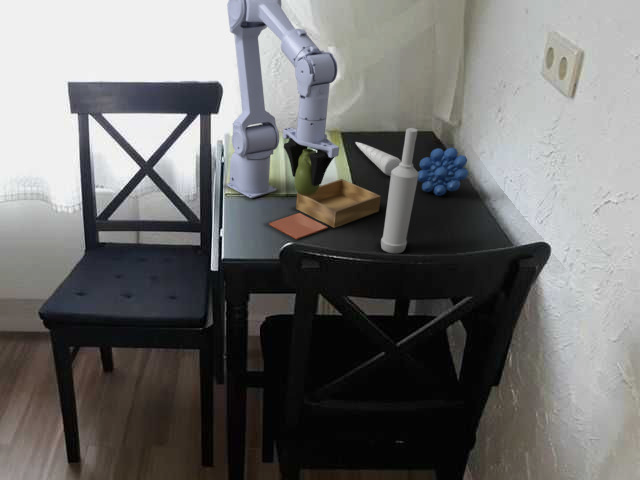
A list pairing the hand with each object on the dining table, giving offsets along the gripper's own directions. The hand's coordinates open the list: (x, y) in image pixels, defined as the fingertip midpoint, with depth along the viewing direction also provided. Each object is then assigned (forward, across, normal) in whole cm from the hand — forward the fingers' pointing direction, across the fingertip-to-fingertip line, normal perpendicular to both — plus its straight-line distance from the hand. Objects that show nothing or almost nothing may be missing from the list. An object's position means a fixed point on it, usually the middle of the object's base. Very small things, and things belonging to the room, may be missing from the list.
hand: (306, 180), depth 158 cm
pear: (+4, 0, 0) cm, 4 cm away
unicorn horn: (+11, +17, -41) cm, 45 cm away
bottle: (+10, -19, -7) cm, 23 cm away
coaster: (+10, 0, +2) cm, 10 cm away
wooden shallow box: (+10, +1, -11) cm, 15 cm away
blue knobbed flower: (+10, -7, -37) cm, 39 cm away
